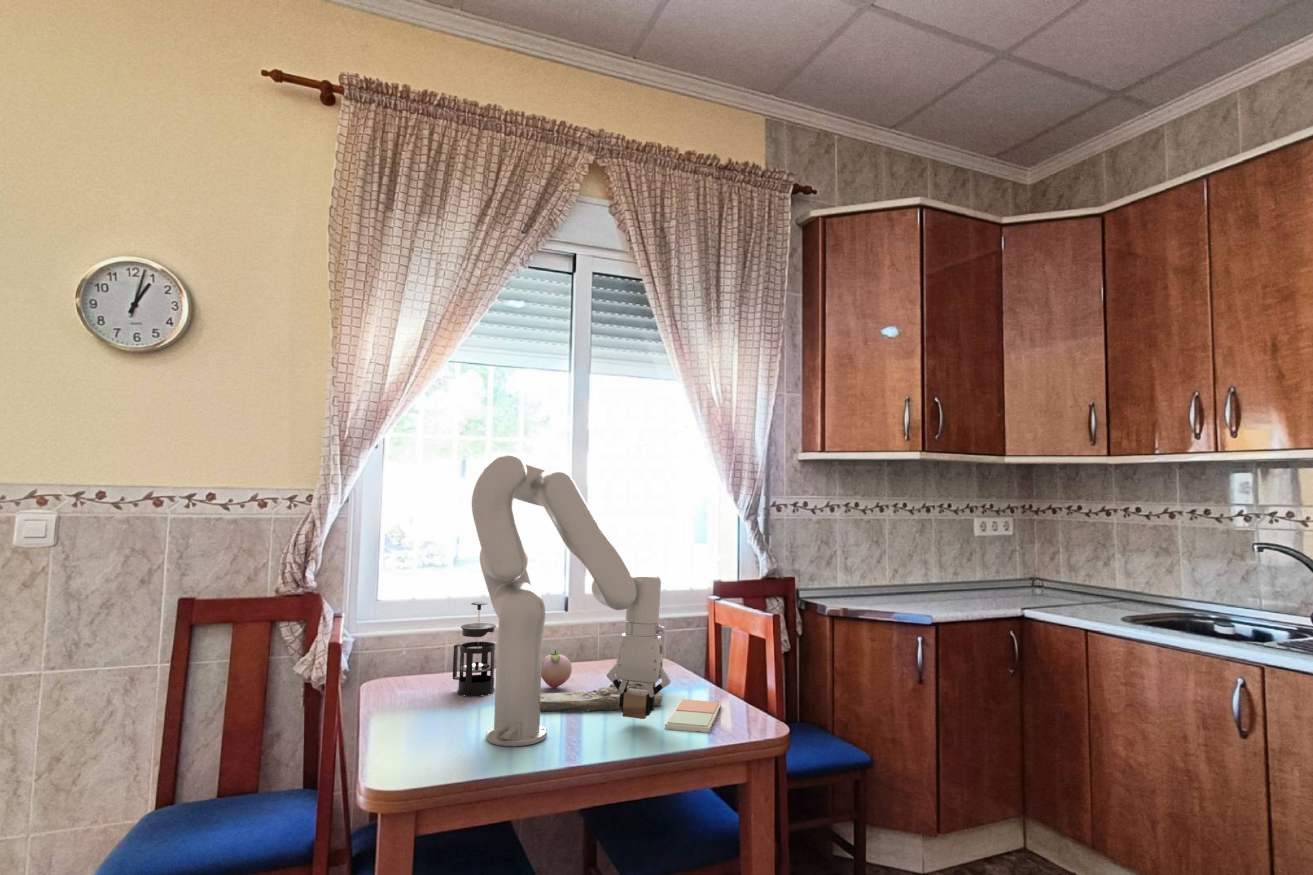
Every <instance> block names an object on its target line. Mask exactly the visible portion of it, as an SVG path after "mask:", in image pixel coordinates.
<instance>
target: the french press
mask: <svg viewBox="0 0 1313 875" xmlns="http://www.w3.org/2000/svg"><path fill="white" fill-rule="evenodd" d="M488 603H489V602H486V601H474V602H471V605H473V606H477V608H476V610H477V611H478V613H477V617H478V618H477V622H474V623H473V622H471V623H465V624H463V625H460V629H462V633H461V634H462V636H463V637H469V638H477V641H470V642H469V641H468V642H463V643H457V644H454V645H453V661H452V665H453V666H452V680H455V681H456V680H458V689H457V691H456V692H457V694H458V693H459V694H460V695H459V694H458V695H459V696H461V695H465V696H464V697H466V696H479V697H482V696H481V695H486V696H489V695H488V694H490V695H492V694H493V692H494V693H495V686H494V685H495V672H494V671H495V654H496V653H495V651H496V643H494V642H492V641H491V642H490V641H480V638H481V637H484V636H486V635H487V634H488V633H494V631H495V628H496V627H497V625H496V624H494V623H487V622H486V623H485V622H480V614H481V610H482V606H486V605H488ZM459 651H460V655H459V654H458V653H459ZM489 653H490V663H488V662H489ZM465 654H466V655H465ZM474 654H475V655H476V661H475V663H474V659H473V658H474ZM479 654H481V660H480V661H481V662H479ZM458 656H460V658H459V659H460V660H459V676H458ZM465 656H466V658H465ZM465 659H466V660H465ZM488 672H489V673H490V674H489V675H488ZM464 673H465V676H464ZM476 673H477V674H476ZM478 673H480V674H478ZM491 693H492V694H491Z"/></svg>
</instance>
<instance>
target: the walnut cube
mask: <svg viewBox="0 0 1313 875" xmlns="http://www.w3.org/2000/svg"><path fill="white" fill-rule="evenodd" d="M647 697H648V690H641V689H633V688H629V689H628V690H627V691H626V692H625V693H624V701H623V712H622V718H623V717H625V718H630V719H631V718H632V719H639V720H645V719H646V718H647V717H648V715H646V701H647Z"/></svg>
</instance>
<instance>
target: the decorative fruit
mask: <svg viewBox="0 0 1313 875" xmlns="http://www.w3.org/2000/svg"><path fill="white" fill-rule="evenodd" d="M572 671H573V667H572V663H571V660H570V659H569V658H568V657H567V656H566V655H563V654H560V653H558V652H557V650H554V652H550V653H549V654H548V655H546V656H545V657H543V658H542V668H541V680H543V682H545V684H546V685H547V686H548V687H550V688H552V689H553V690H554V689H556V688H558V687H560V686H563V684H565V683H566V682H567V681H568V680H569V678H570V677H571V675H572Z"/></svg>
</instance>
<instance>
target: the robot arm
mask: <svg viewBox="0 0 1313 875" xmlns="http://www.w3.org/2000/svg"><path fill="white" fill-rule="evenodd" d="M514 499H515V500H519V501H522V502H525V503H528V504H532V505H535V506H540V507H543V508H544V509H545V511H546V513H547V516H549V518H550V520H551V521H552V523H553V525H554V527H555V529H556V531H557V532H558V535H559V536H560V539H561V540H562V542H563V543H564V545H565V546H566V548H567V549H568V550H569V552H570V553H572V555H574V556H575V557H576V558H577V559H578V560H579V561H580V562H581V563H582V564H583V565H584V567H585V568H586V570H588V572H589V574H590V575H591V577H592V579H593V581H592V584H591V592H592V595H593V597H594V599H595V600H596V601H598V602H599V603H601V604H602V605H604V606H606V607H608V608H610V609H612V610H614V611H624V610H625V624H624V626H625V627H624V632H623V633H622V634H621V637H620V641H619V646H618V651H617V657H616V663H615V664H614V666H613V667H612V668H611V669H610V670H609V671H608V673H607V674H606V678H607V679H608V680H609V681H610V682H612V684H614V685H615V687H616V688H617V689H618V691H619V693H620V703H619V707H621V710H620V713H623V701H624V693H625V692H626V691H627V686H628V683H629V681H633V682H642V683H647V688H648V697H647V701H646V715H648V716H650V715H651V713H652V712H654V710H655V705H654V700H655V695H656V694H657V693H658V692H660V691H662V690H663V689H665V688H666V687H667V686H669V685H670V684H671V682H672V681H671V679H670V677H669V676H668V674H667V673H666V672H665V670H664V668H663V667H664V661H663V660H664V659H663V657H664V654H663V653H664V652H663V651H664V650H663V640H662V636H661V635H659V634H661V633H665V630H666V629H665V626H662V625H661V624H660V621H659V620H660V607H661V606H660V604H661V588H662V582H661V578H660V577H659V575H658V576H657V575H655V574H650V573H648V574H646V573H634V574H631V573H630V571H629V569H628V567H627V566H626V564H625V562H624V561H623V559H622V557H621V556H620V554H619V553H618V551H617V549H616V548H615V547H614V545H613V544H612V543H611V541H610V540H609V538H608V536H607V535H606V533H605V532H604V531H603V530H602V529H601V527H600V525H599V523H598V522H597V519H596V518H595V516H594V515H593V513H592V512H591V510H590V507H589V506H588V504H587V502H586V500H585V498H584V497H583V495H582V493H581V492H580V489H579V487H578V486H577V484H576V482H575V480H574V479H573V478H572V476H571V475H570V474H568V473H567V472H566V471H562V470H557V469H556V470H554V469H553V470H547V469H544V468H541V467H537V466H534V465H531V464H527V463H525V462H524V461H523V459H522V458H521V457H519V456H518V455H516V454H513V453H502V454H499V455H497V456H495V457H493V458H492V459H490V460H489V461H488V462H487V463H486V465H485V466H484V468H483V471H482V472H481V474H480V475H479V476H478V479H477V480H476V483H475V484H474V488H473V492H472V496H471V512H472V517H473V522H474V525H475V529H476V533H477V534H476V535H477V537H478V541H479V544H480V548H481V549H480V552H479V563H480V568H481V572H482V576H483V579H484V582H485V585H486V589H487V592H488V595H489V597H490V601H491V604H492V608H493V611H494V612H495V614H496V617H498V630H497V631H498V632H497V642H496V657H495V661H496V662H495V663H496V664H495V665H496V666H495V686H494V690H495V691H494V693H495V694H494V718H493V726H492V727H491V728H489V729H488V730H487V731H486V734H485V737H486V740H487V742H488V743H490V744H493V745H497V746H501V747H502V746H503V747H523V746H524V747H525V746H529V745H530V746H531V745H533V744H534V745H535V744H537V743H539V742H542V741H544V739H546V738H547V735H548V730H547V728H546V727H545V726H543V725H541V724H540V723H541V711H540V699H541V694H542V692H541V691H542V677H541V668H542V660H543V657H542V655H543V637H544V629H545V628H544V627H545V622H546V605H545V601H544V599H543V597H542V595H541V594H540V592H539V591H538V590H536V588H533V586H532V584H531V580H530V578H529V574H528V571H527V568H528V563H529V562H528V559H529V558H528V553H527V550H526V548H525V545H524V543H523V540H522V536H521V533H520V530H519V526H518V524H517V519H516V515H515V511H514ZM659 680H661V682H660V683H658V682H659ZM655 683H658V684H657V685H655ZM648 716H647V717H648Z"/></svg>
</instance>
